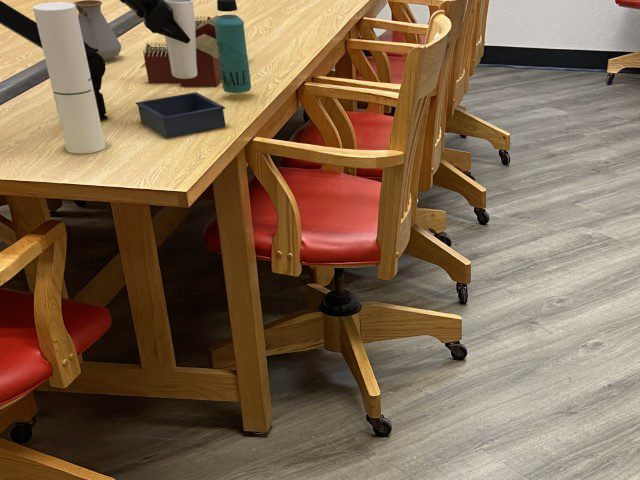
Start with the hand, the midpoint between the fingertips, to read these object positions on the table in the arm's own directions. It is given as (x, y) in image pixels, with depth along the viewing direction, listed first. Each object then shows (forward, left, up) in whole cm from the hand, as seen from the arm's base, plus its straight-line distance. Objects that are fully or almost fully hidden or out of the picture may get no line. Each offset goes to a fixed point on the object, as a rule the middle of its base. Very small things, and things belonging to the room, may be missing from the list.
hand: (186, 38), depth 204 cm
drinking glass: (-2, 0, -8) cm, 8 cm away
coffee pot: (-5, +44, -13) cm, 47 cm away
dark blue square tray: (-9, -13, -13) cm, 20 cm away
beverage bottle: (+10, -1, -13) cm, 17 cm away
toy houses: (+17, +32, -13) cm, 38 cm away
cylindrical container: (-30, -16, -13) cm, 37 cm away
